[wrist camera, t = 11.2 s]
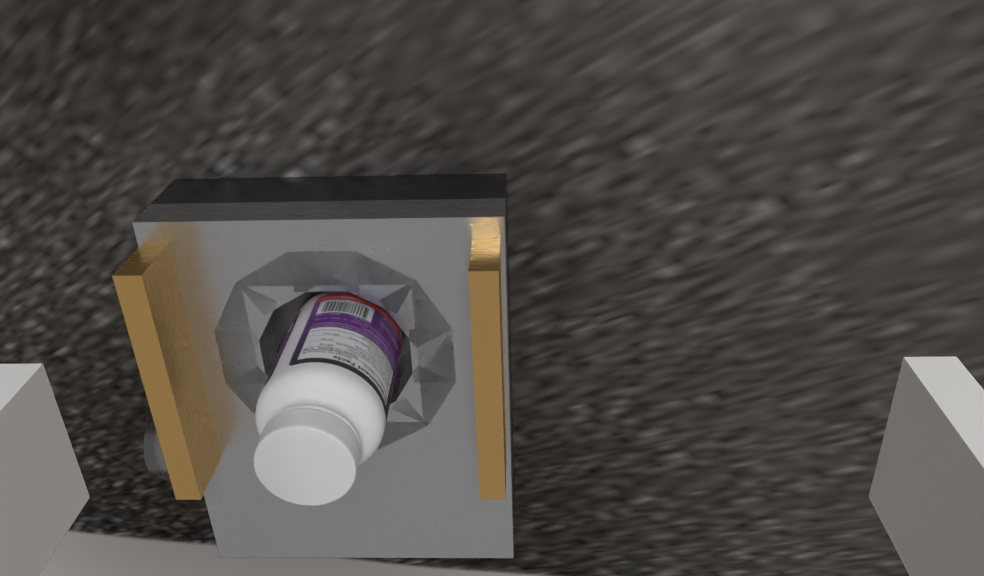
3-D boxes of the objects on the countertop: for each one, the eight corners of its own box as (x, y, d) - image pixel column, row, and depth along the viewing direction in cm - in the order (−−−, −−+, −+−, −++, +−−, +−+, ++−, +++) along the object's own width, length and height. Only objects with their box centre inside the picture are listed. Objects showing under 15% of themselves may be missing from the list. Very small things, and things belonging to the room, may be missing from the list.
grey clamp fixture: (113, 180, 40) (27, 254, 33) (506, 173, 39) (503, 248, 32) (197, 493, 50) (144, 601, 43) (514, 492, 49) (512, 603, 42)
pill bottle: (346, 396, 42) (302, 540, 34) (271, 324, 40) (204, 457, 32) (427, 342, 40) (402, 479, 32) (353, 264, 39) (305, 388, 30)
